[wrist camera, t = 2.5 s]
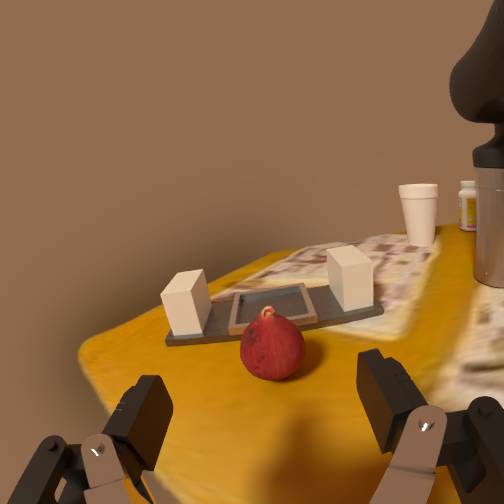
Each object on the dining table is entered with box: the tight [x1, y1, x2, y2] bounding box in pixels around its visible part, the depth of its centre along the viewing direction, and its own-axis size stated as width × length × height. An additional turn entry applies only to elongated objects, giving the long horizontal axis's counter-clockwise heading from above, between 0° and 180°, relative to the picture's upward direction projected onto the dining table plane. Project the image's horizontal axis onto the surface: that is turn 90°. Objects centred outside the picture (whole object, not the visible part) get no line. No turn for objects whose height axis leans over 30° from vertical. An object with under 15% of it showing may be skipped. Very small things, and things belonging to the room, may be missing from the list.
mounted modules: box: [160, 245, 373, 336], centre depth 36 cm, size 26×8×6 cm, turn 89°
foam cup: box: [399, 184, 438, 246], centre depth 53 cm, size 10×9×13 cm
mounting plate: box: [165, 283, 383, 346], centre depth 37 cm, size 28×11×2 cm, turn 89°
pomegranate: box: [240, 305, 306, 381], centre depth 24 cm, size 6×6×8 cm
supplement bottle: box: [458, 181, 477, 232], centre depth 54 cm, size 7×7×13 cm
